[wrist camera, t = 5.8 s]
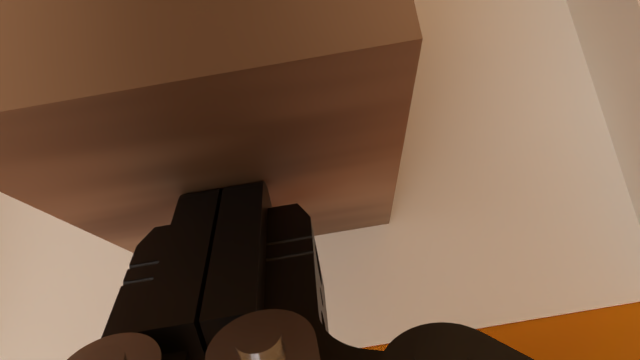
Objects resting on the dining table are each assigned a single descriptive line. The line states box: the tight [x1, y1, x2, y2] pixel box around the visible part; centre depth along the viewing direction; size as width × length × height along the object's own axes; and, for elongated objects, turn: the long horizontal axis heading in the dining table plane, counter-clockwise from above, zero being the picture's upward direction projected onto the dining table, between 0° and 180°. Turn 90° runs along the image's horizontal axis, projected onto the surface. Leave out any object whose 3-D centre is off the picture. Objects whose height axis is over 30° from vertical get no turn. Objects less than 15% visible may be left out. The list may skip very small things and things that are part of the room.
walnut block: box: [0, 0, 423, 253], centre depth 12 cm, size 6×6×9 cm
